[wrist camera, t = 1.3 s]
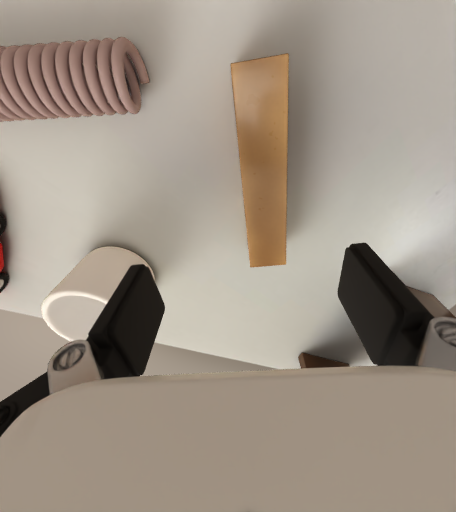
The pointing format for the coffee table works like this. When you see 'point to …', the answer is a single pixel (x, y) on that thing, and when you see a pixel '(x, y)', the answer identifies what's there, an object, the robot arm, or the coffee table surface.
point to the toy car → (2, 278)
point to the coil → (69, 79)
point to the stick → (263, 153)
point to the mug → (87, 291)
